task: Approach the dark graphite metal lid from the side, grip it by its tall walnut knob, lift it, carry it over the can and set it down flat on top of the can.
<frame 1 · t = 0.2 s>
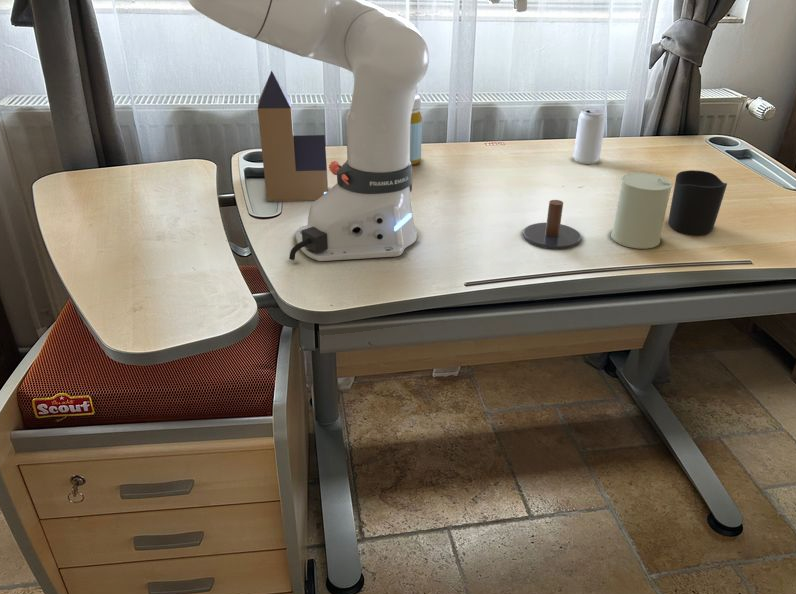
hand: (506, 6, 122), 39 cm above the table, tool pointing down, fingers open, 8 cm apart
bottle: (406, 161, 171), on the table
pen holder: (689, 227, 144), on the table
lid: (551, 236, 137), on the table
can: (635, 239, 138), on the table
beverage can: (585, 161, 175), on the table
toy building blocks: (297, 185, 156), on the table
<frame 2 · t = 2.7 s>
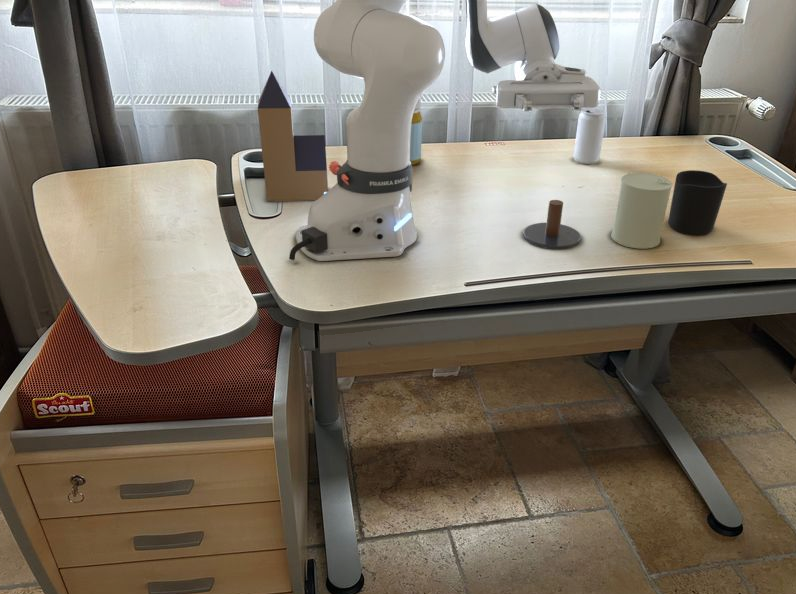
hand: (553, 107, 135), 21 cm above the table, tool horizontal, fingers open, 8 cm apart
nothing on the table moved.
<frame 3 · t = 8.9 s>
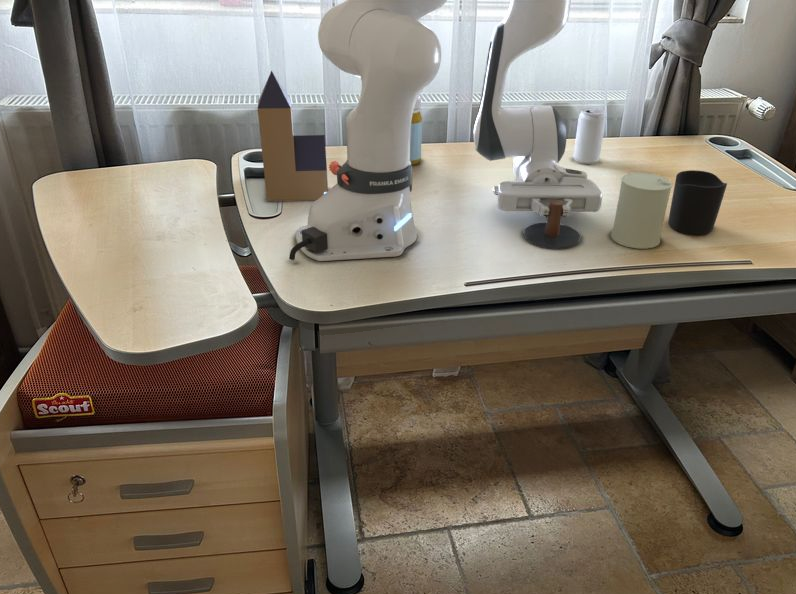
hand: (556, 213, 134), 5 cm above the table, tool horizontal, fingers closed on lid, 2 cm apart
lid: (551, 236, 137), on the table, touching gripper
everything else where it was.
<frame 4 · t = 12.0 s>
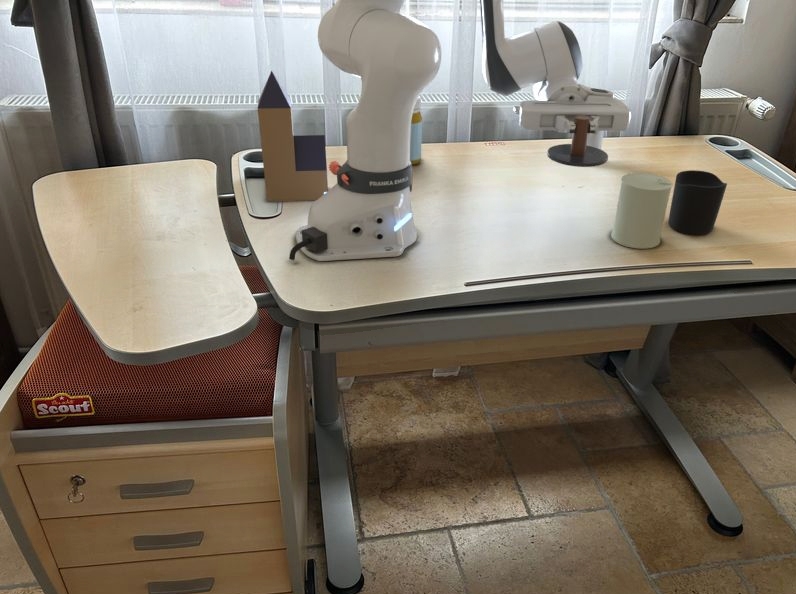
hand: (582, 129, 125), 21 cm above the table, tool horizontal, fingers closed on lid, 2 cm apart
lid: (577, 156, 129), point 16 cm above the table, touching gripper
everything else where it was.
when the fingers open (17 cm above the table, at t = 15.6 s): lid stays where it is, resting on can.
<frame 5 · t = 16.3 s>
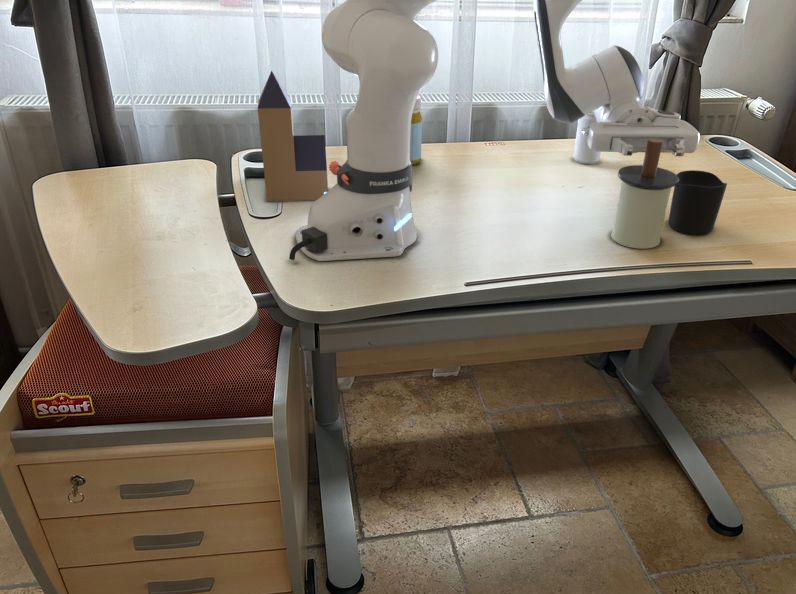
hand: (654, 151, 128), 17 cm above the table, tool horizontal, fingers open, 8 cm apart
lid: (647, 178, 131), point 12 cm above the table, touching can
can: (635, 239, 138), on the table, touching lid
everything else where it was.
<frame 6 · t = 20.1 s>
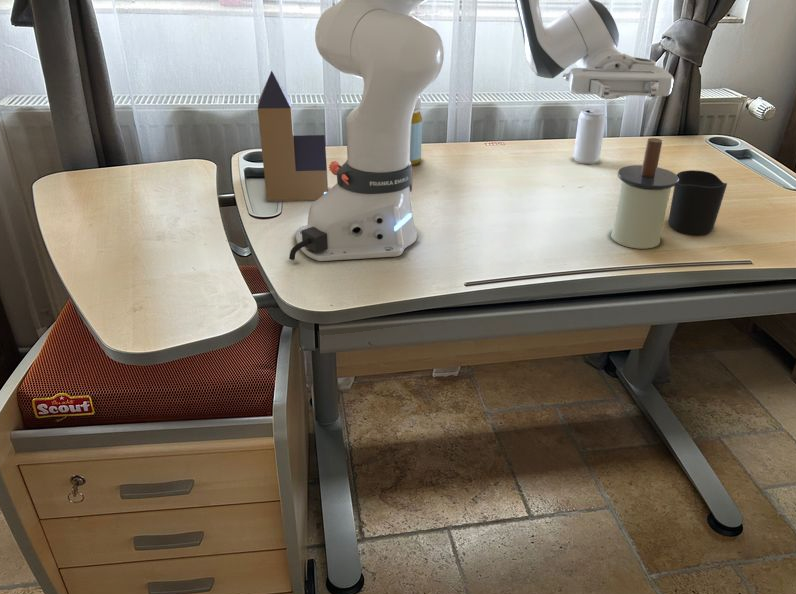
hand: (630, 92, 135), 24 cm above the table, tool horizontal, fingers open, 8 cm apart
nothing on the table moved.
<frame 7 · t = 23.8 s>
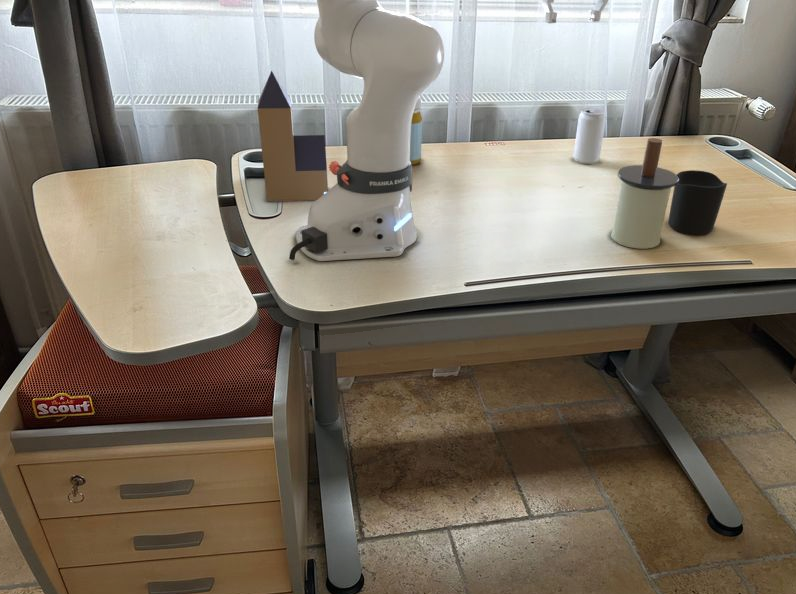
hand: (572, 22, 133), 35 cm above the table, tool pointing down, fingers open, 8 cm apart
nothing on the table moved.
at the end: lid 0.0 cm off-centre on the can, point 12.2 cm above the can's base; lid tilted 0°; the gripper is holding nothing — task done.
